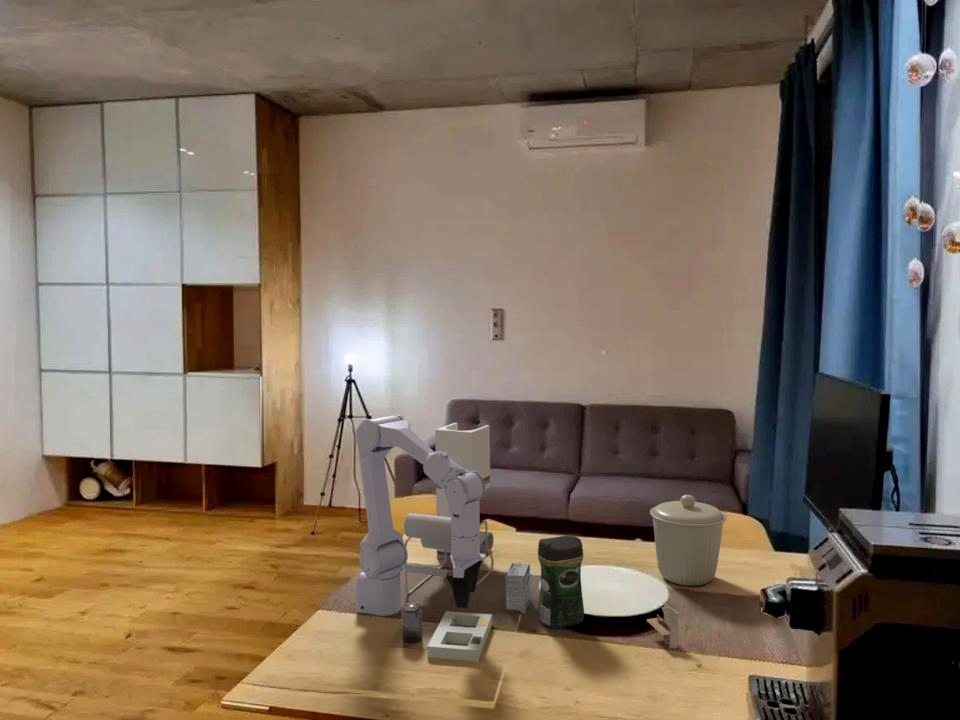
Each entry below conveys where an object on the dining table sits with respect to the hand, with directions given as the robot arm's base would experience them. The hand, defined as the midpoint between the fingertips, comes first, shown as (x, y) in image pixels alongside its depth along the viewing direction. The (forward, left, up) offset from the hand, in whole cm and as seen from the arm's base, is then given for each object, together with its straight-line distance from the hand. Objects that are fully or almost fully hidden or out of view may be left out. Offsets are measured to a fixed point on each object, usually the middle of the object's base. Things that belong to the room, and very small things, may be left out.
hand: (466, 599), depth 148 cm
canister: (+47, +43, -10) cm, 64 cm away
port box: (-1, 0, -9) cm, 9 cm away
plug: (-11, -1, -9) cm, 14 cm away
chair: (-10, +31, -10) cm, 34 cm away
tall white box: (-11, +51, -10) cm, 53 cm away
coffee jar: (+18, +14, -10) cm, 25 cm away
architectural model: (+40, +8, -10) cm, 42 cm away
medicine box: (+8, +20, -10) cm, 24 cm away
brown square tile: (-11, -1, -9) cm, 15 cm away
